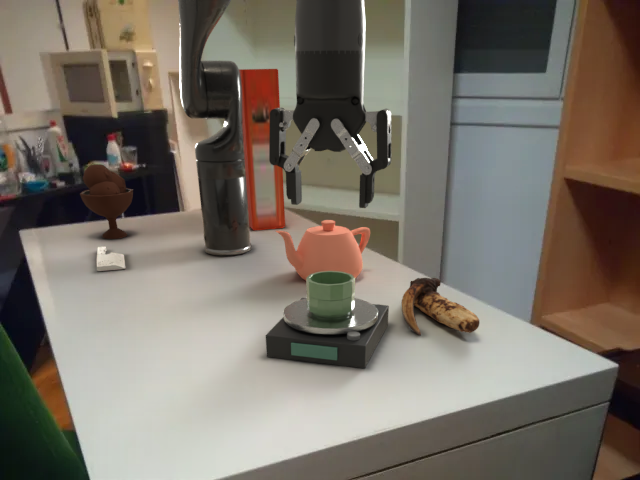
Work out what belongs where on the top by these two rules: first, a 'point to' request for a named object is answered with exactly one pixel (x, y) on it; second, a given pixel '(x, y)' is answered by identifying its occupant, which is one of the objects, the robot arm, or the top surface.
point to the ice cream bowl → (106, 197)
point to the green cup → (330, 293)
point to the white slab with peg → (109, 260)
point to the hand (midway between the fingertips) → (329, 205)
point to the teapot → (327, 249)
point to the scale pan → (308, 322)
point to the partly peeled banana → (435, 307)
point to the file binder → (261, 149)
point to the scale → (327, 343)
